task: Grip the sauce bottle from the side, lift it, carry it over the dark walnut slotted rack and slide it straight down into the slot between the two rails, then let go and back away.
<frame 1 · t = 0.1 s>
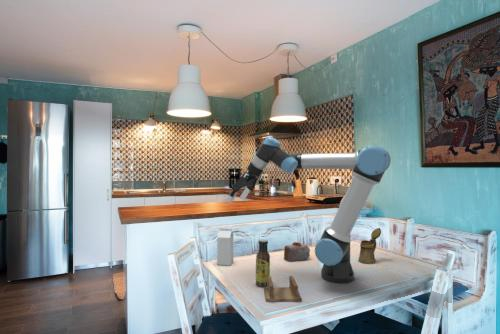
hand: (235, 200, 161), 36 cm above the table, tool tilted 35°, fingers open, 13 cm apart
sauce bottle: (262, 285, 143), on the table
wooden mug: (370, 261, 178), on the table
food item: (296, 260, 181), on the table
milk carton: (225, 264, 174), on the table
walnut slotted rack: (282, 295, 131), on the table
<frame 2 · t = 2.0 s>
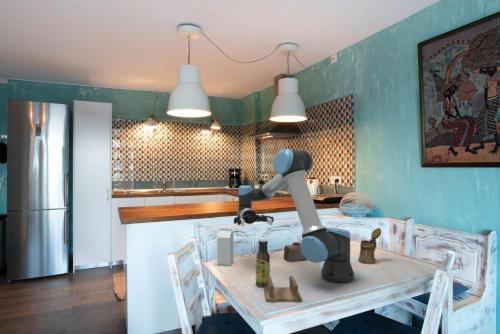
hand: (257, 222, 152), 26 cm above the table, tool horizontal, fingers open, 13 cm apart
nothing on the table moved.
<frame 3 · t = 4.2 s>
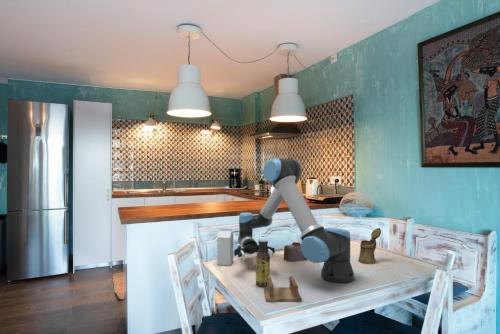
hand: (258, 256, 149), 11 cm above the table, tool horizontal, fingers open, 13 cm apart
nothing on the table moved.
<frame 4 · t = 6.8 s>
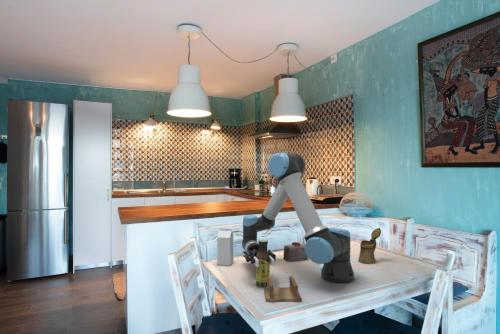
hand: (265, 263, 138), 11 cm above the table, tool horizontal, fingers closed on sauce bottle, 6 cm apart
sauce bottle: (262, 285, 143), on the table, touching gripper
everything else where it was.
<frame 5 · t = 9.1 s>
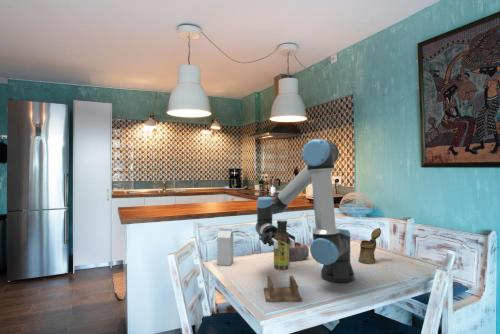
hand: (285, 244, 126), 22 cm above the table, tool horizontal, fingers closed on sauce bottle, 6 cm apart
sauce bottle: (281, 269, 131), point 11 cm above the table, touching gripper
everything else where it was.
when the fingers open (13 cm above the table, at t = 11.4 s): sauce bottle drops 1 cm, resting on walnut slotted rack.
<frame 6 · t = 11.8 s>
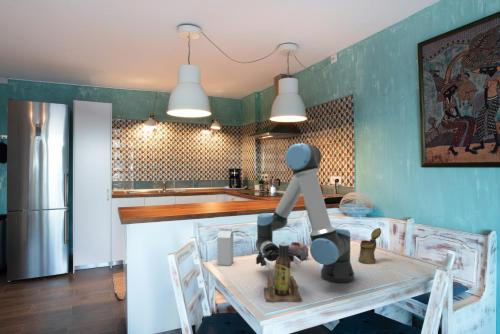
hand: (284, 265, 127), 13 cm above the table, tool horizontal, fingers open, 12 cm apart
sauce bottle: (281, 293, 131), point 1 cm above the table, touching walnut slotted rack
everything else where it was.
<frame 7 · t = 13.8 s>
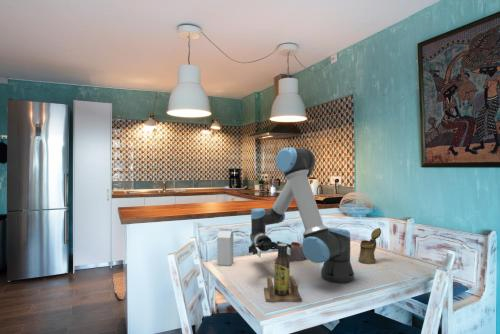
hand: (274, 252, 141), 15 cm above the table, tool horizontal, fingers open, 13 cm apart
nothing on the table moved.
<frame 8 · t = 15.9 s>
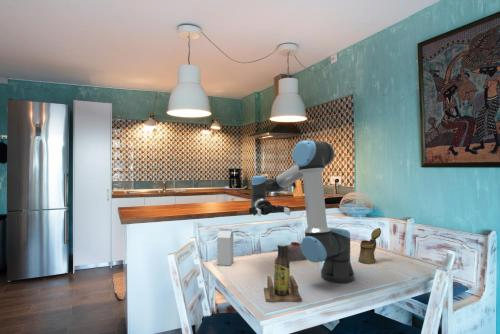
hand: (274, 212, 144), 32 cm above the table, tool horizontal, fingers open, 13 cm apart
nothing on the table moved.
at the end: sauce bottle inside the target area on the walnut slotted rack (0.0 cm from its centre), point 0.8 cm above the walnut slotted rack's base; sauce bottle tilted 0°; the gripper is holding nothing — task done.
